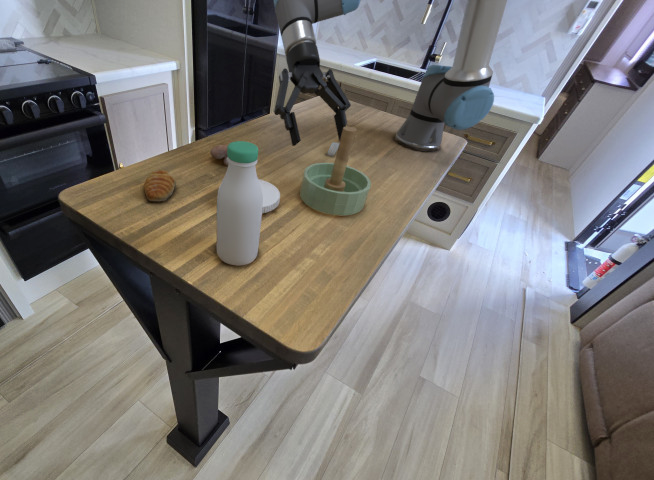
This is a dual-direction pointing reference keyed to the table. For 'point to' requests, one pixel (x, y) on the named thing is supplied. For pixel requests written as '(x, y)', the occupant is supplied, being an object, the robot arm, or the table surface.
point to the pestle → (341, 160)
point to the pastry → (159, 185)
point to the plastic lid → (269, 196)
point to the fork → (333, 147)
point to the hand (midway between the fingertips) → (320, 141)
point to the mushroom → (220, 153)
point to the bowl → (330, 199)
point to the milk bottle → (239, 206)
